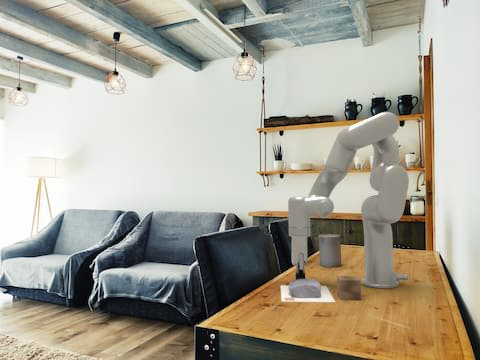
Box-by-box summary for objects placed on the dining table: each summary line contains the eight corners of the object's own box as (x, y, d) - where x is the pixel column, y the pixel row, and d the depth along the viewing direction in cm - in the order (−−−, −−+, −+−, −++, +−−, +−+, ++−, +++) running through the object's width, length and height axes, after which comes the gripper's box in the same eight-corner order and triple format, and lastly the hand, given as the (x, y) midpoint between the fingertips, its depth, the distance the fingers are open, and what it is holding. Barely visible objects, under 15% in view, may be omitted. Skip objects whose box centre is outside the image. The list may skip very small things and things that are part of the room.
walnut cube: (356, 295, 119) (356, 276, 119) (360, 300, 113) (360, 280, 113) (337, 294, 120) (337, 275, 120) (340, 300, 114) (340, 280, 114)
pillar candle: (339, 263, 173) (338, 231, 174) (343, 267, 164) (341, 233, 164) (318, 263, 174) (317, 231, 175) (320, 267, 165) (319, 233, 165)
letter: (326, 286, 131) (326, 285, 131) (335, 302, 111) (335, 301, 111) (280, 286, 132) (280, 285, 132) (281, 302, 112) (281, 301, 112)
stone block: (292, 303, 116) (324, 296, 115) (289, 288, 116) (320, 281, 116) (289, 294, 127) (317, 288, 127) (286, 280, 128) (314, 274, 128)
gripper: (287, 229, 139) (288, 279, 138) (290, 234, 124) (291, 289, 123) (308, 229, 138) (309, 279, 137) (312, 233, 123) (314, 289, 123)
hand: (300, 284), depth 130 cm, fingers closed
